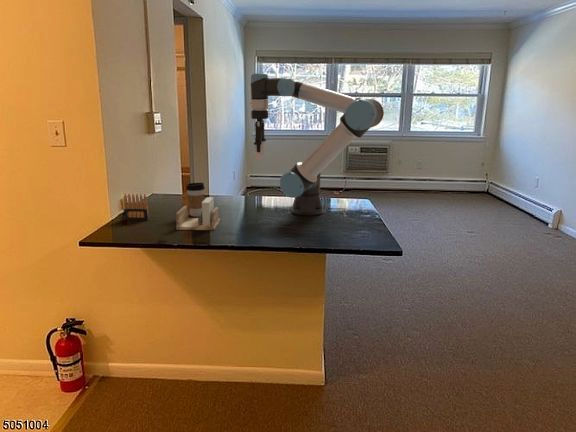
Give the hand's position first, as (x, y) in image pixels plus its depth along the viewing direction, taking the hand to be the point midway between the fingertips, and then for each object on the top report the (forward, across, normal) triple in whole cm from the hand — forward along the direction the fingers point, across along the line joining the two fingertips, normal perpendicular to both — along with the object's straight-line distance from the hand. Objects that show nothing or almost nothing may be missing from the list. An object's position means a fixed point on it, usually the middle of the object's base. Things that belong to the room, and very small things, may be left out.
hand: (260, 157), depth 202 cm
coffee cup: (+27, +3, -30) cm, 40 cm away
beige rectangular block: (+26, +20, -21) cm, 39 cm away
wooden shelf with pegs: (+27, +20, -25) cm, 42 cm away
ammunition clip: (+27, +12, -55) cm, 62 cm away
